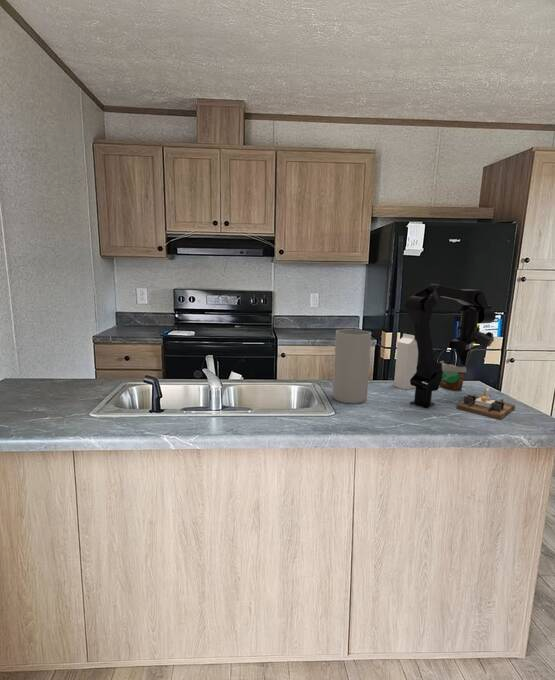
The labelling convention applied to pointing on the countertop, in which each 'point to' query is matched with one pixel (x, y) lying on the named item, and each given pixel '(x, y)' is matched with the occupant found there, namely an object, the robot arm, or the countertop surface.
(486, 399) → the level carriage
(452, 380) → the food container
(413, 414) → the countertop surface
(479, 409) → the stand
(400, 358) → the milk
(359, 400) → the cylinder vase
